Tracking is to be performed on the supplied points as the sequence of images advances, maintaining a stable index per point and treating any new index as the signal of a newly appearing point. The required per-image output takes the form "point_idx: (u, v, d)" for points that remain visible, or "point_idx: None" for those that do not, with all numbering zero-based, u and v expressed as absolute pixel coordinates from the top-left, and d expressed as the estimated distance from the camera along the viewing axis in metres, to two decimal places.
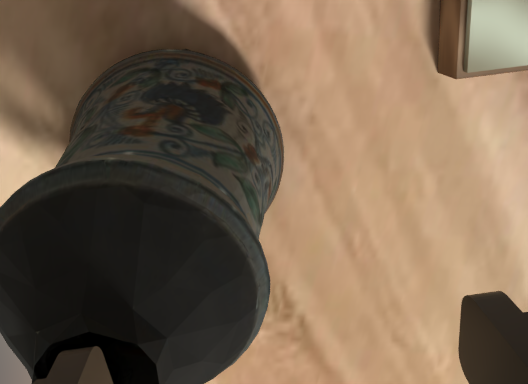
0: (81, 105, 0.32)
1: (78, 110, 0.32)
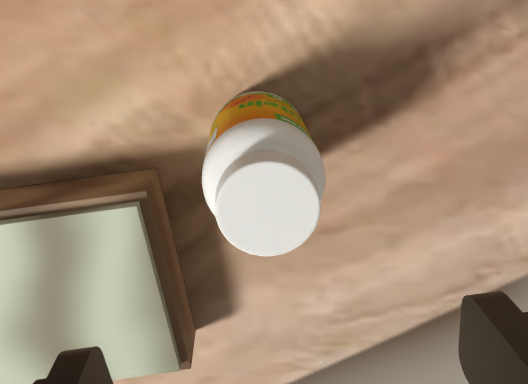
0: None
1: None
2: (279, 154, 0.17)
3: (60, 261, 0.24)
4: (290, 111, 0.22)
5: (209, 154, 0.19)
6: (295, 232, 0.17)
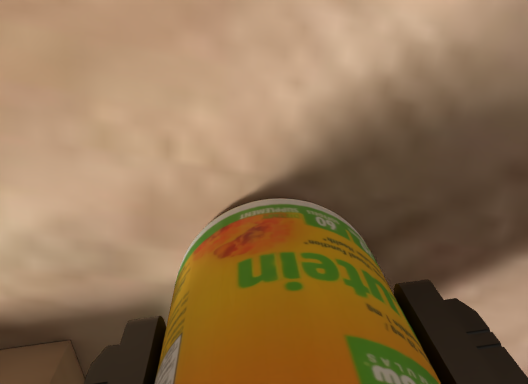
0: None
1: None
2: None
3: None
4: (367, 279, 0.09)
5: None
6: None
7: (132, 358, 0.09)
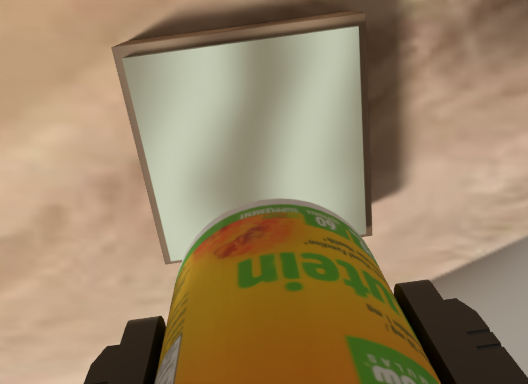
0: None
1: None
2: None
3: (266, 94, 0.22)
4: (367, 279, 0.09)
5: None
6: None
7: (132, 358, 0.09)
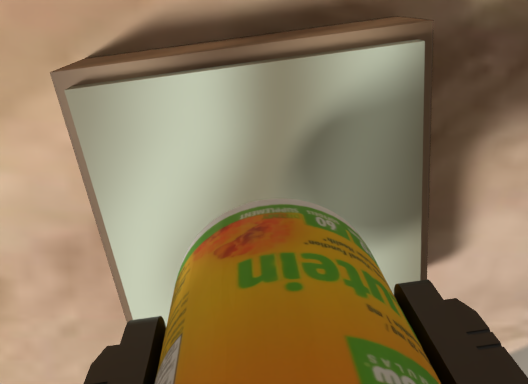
0: None
1: None
2: None
3: (283, 141, 0.15)
4: (367, 279, 0.09)
5: None
6: None
7: (132, 358, 0.09)
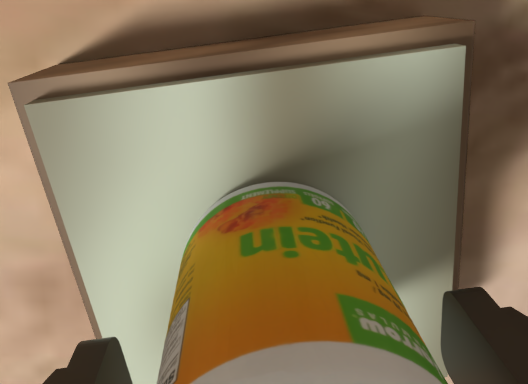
0: None
1: None
2: None
3: (291, 165, 0.12)
4: (358, 251, 0.10)
5: None
6: None
7: None
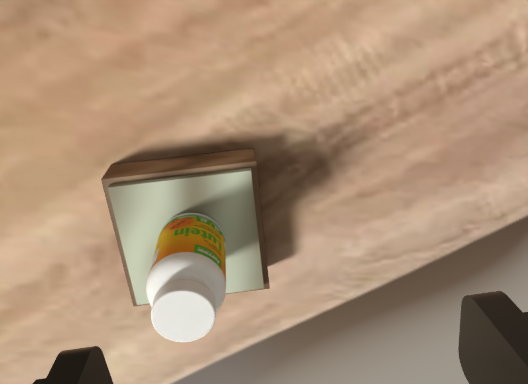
0: None
1: None
2: (191, 282, 0.28)
3: (196, 207, 0.36)
4: (209, 235, 0.33)
5: (150, 274, 0.30)
6: (200, 328, 0.28)
7: None
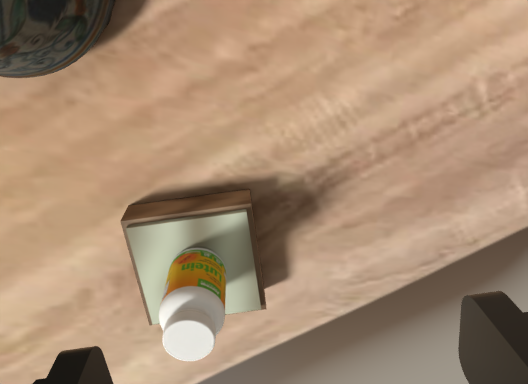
0: None
1: None
2: (194, 312, 0.34)
3: (200, 242, 0.42)
4: (211, 268, 0.39)
5: (162, 305, 0.36)
6: (203, 350, 0.34)
7: None
